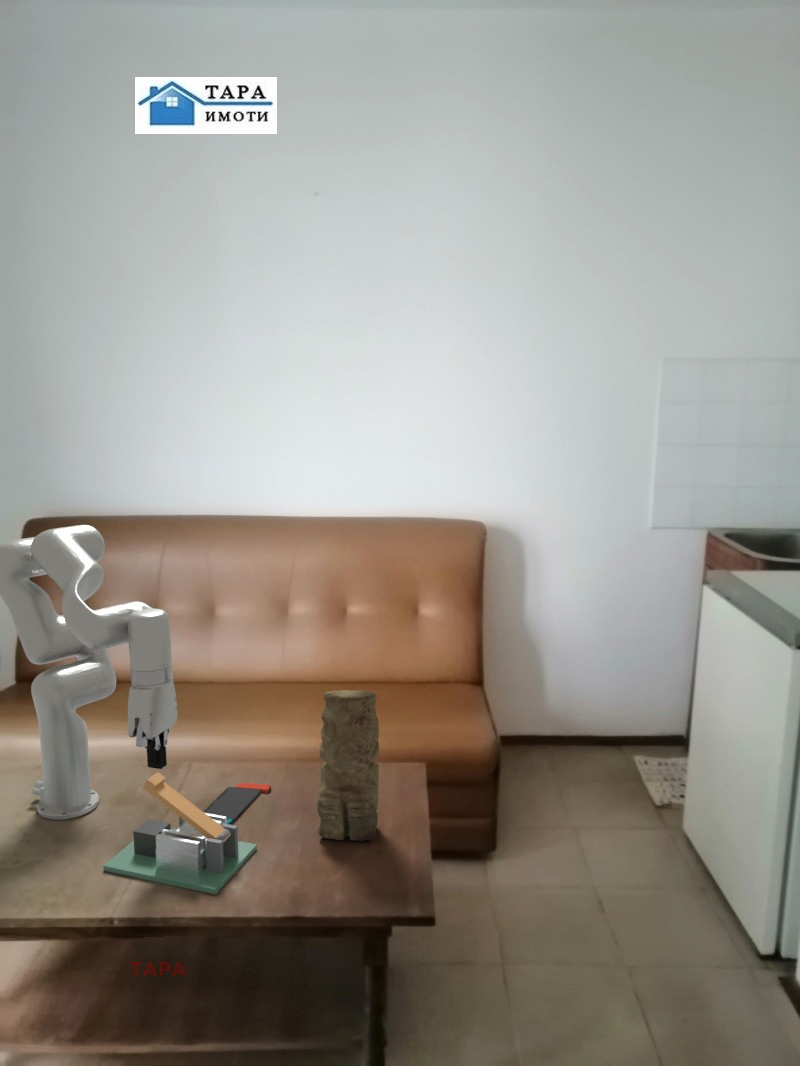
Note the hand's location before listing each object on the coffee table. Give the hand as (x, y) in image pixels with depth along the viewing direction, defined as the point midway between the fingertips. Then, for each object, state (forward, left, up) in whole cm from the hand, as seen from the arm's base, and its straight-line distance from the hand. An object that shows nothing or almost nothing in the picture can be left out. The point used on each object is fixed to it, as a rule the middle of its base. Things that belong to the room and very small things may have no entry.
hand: (157, 766), depth 163 cm
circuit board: (+4, 0, -19) cm, 19 cm away
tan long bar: (+6, 0, -9) cm, 11 cm away
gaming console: (+4, +23, -19) cm, 30 cm away
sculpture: (+31, +20, -19) cm, 42 cm away
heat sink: (+7, 0, -19) cm, 20 cm away
